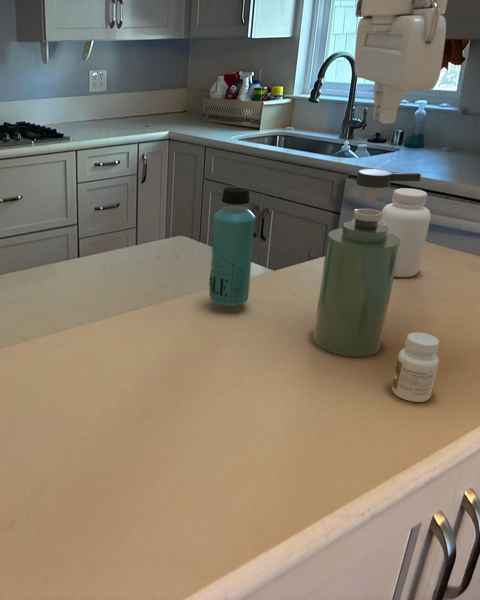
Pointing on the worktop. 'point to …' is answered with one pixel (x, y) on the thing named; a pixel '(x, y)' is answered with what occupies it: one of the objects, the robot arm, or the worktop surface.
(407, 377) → the pill bottle
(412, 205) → the pill bottle
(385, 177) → the pump head
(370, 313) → the dispenser
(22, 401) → the worktop surface
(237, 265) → the beverage bottle
